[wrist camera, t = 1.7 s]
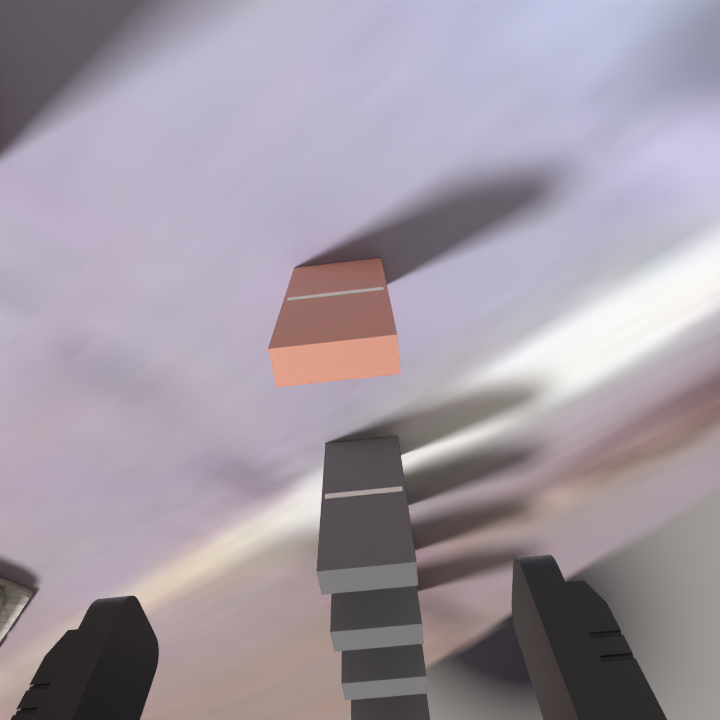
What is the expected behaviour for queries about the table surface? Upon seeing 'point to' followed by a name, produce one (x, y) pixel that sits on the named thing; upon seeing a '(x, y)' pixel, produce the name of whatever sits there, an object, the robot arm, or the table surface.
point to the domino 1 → (335, 325)
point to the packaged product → (11, 603)
